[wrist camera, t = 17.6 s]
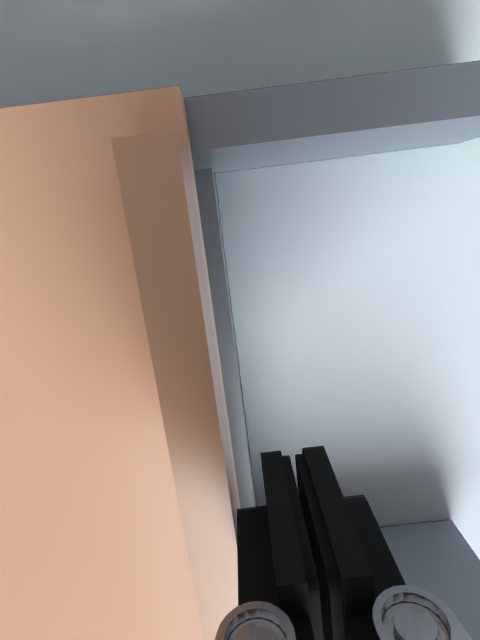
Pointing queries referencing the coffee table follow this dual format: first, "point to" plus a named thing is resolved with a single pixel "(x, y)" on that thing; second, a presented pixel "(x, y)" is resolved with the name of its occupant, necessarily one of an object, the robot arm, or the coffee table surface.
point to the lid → (109, 379)
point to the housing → (320, 144)
